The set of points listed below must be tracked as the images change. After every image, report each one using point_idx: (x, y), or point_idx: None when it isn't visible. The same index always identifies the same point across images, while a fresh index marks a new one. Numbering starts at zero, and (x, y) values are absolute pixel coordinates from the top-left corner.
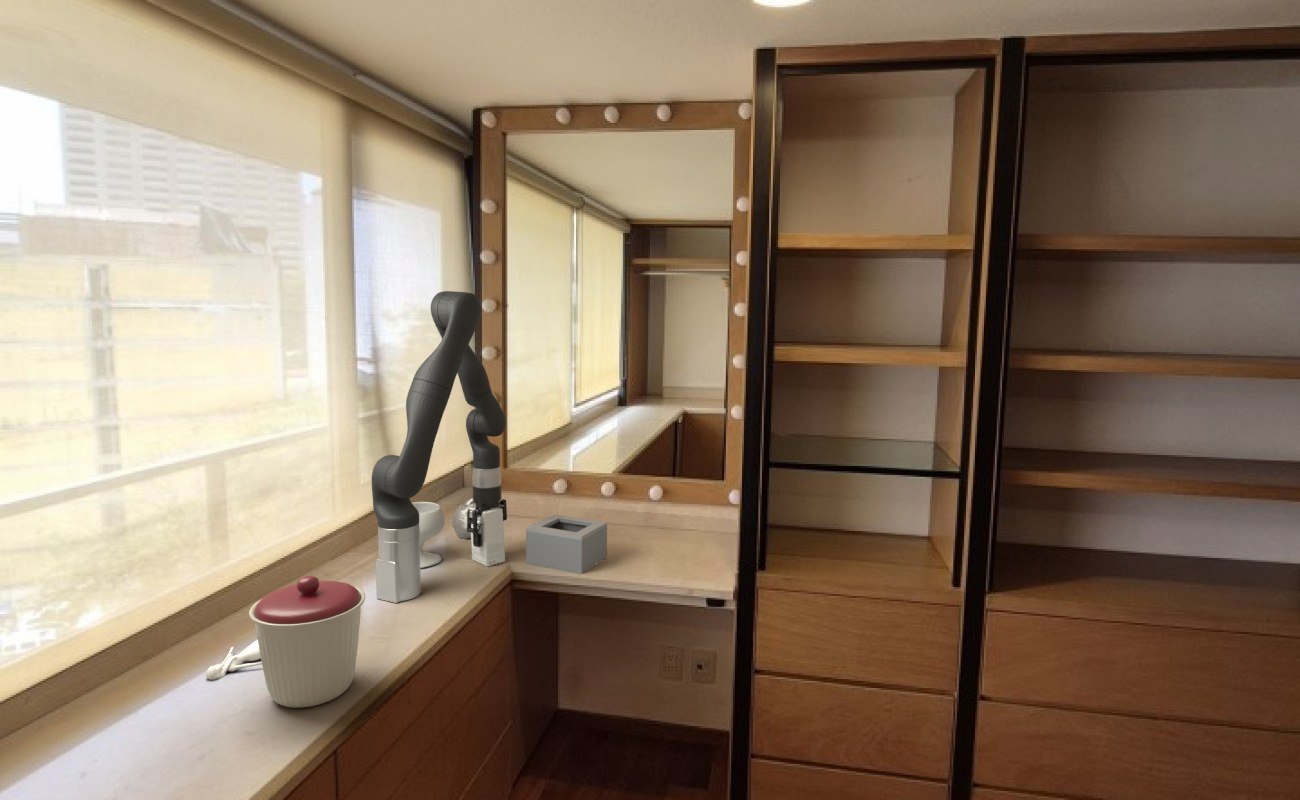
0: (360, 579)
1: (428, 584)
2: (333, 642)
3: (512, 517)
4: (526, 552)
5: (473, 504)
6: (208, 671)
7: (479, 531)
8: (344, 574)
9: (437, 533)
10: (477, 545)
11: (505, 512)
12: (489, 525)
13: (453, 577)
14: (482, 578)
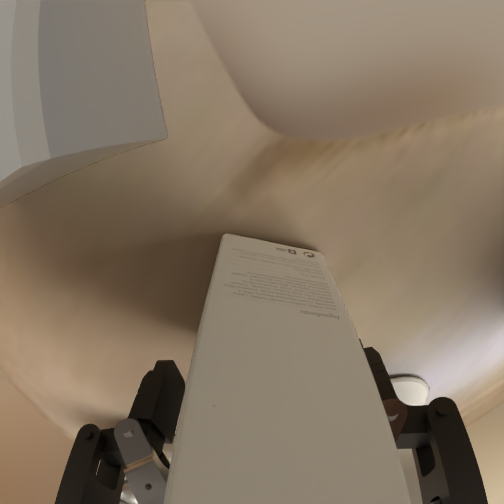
0: (480, 386)
1: (499, 279)
2: None
3: (44, 412)
4: (144, 139)
5: (131, 501)
6: None
7: (398, 412)
8: (460, 413)
9: (403, 462)
10: (370, 349)
11: (77, 466)
12: (355, 438)
13: (452, 268)
14: (426, 171)
